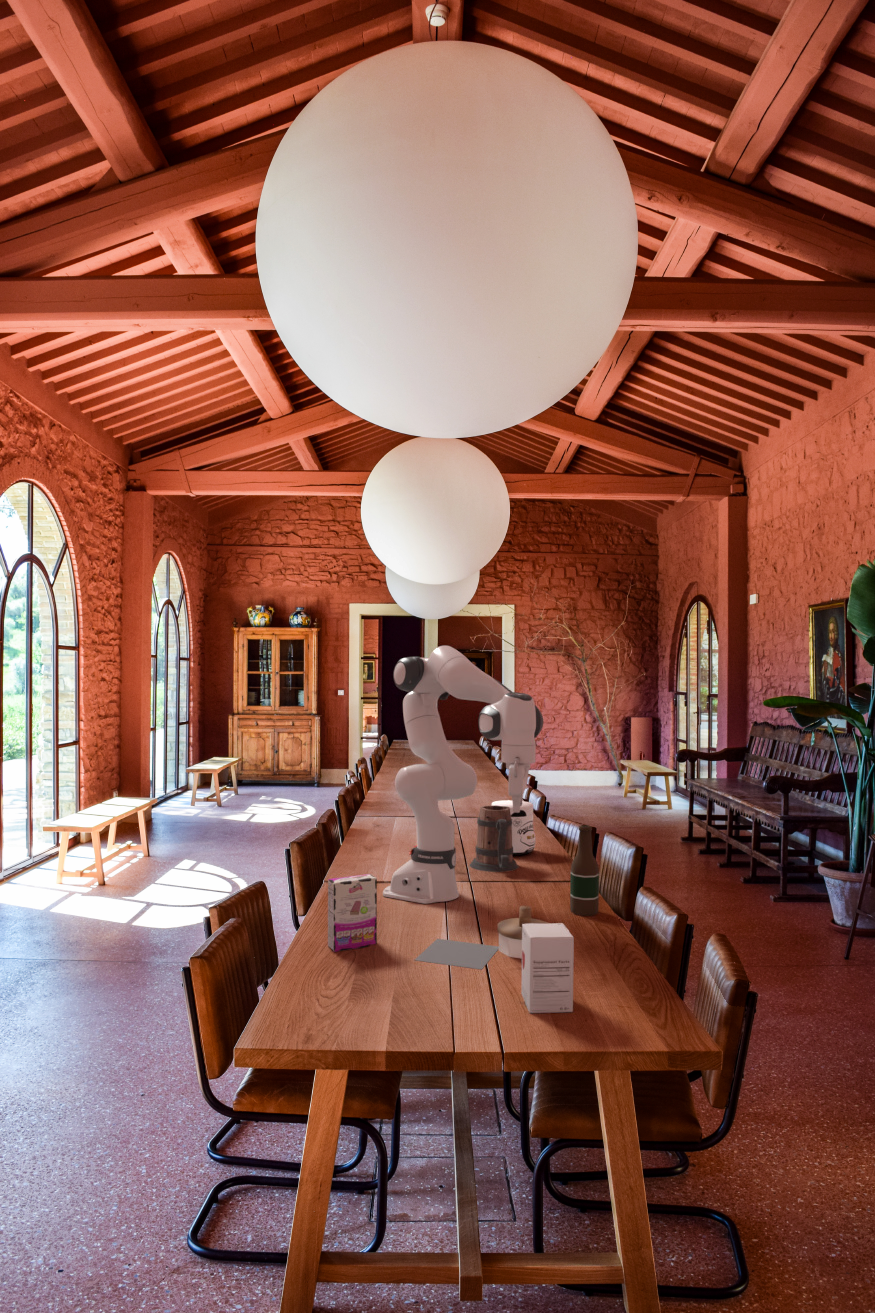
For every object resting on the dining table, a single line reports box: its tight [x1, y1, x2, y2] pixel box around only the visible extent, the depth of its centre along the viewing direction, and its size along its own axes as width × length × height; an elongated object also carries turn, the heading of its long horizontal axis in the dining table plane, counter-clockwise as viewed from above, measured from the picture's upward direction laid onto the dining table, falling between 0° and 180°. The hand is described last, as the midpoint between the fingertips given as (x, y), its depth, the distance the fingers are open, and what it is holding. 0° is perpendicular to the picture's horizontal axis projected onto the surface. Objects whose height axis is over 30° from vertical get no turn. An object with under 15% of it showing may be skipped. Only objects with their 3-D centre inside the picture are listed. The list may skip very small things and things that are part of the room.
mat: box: [414, 938, 499, 970], centre depth 193 cm, size 16×16×1 cm
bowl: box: [498, 932, 522, 960], centre depth 196 cm, size 12×12×5 cm
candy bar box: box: [327, 873, 378, 953], centre depth 199 cm, size 11×5×16 cm, turn 117°
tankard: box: [469, 805, 520, 873], centre depth 279 cm, size 24×17×20 cm
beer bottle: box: [569, 824, 600, 917], centre depth 229 cm, size 8×8×24 cm
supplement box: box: [521, 922, 575, 1014], centre depth 166 cm, size 9×9×15 cm
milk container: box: [490, 799, 536, 856], centre depth 303 cm, size 17×17×18 cm
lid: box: [497, 905, 550, 940], centre depth 196 cm, size 13×13×6 cm
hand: (517, 809), depth 213 cm, fingers open, 8 cm apart
